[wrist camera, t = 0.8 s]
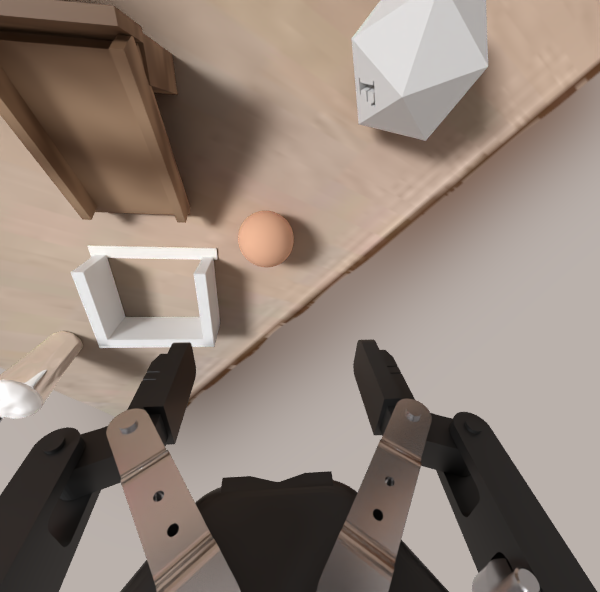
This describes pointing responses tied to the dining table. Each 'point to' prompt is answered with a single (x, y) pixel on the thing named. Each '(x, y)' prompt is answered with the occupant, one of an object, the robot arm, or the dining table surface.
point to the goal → (145, 330)
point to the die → (417, 62)
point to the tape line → (152, 252)
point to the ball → (265, 239)
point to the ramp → (90, 105)
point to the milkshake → (36, 375)
